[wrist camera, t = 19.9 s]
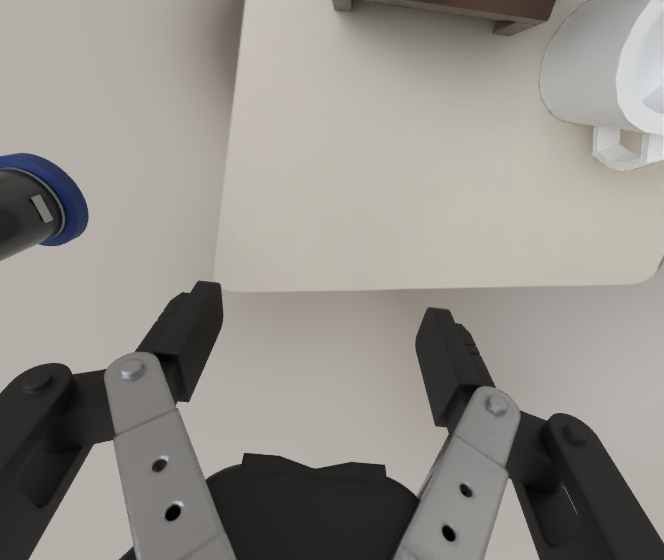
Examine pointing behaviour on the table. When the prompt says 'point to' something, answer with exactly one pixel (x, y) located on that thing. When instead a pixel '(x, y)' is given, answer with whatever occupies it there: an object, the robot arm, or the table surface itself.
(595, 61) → the mug
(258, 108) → the table surface
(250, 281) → the table surface
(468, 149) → the table surface
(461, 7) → the tv stand
